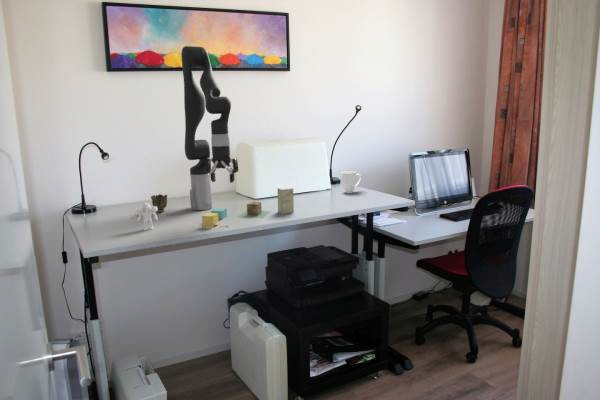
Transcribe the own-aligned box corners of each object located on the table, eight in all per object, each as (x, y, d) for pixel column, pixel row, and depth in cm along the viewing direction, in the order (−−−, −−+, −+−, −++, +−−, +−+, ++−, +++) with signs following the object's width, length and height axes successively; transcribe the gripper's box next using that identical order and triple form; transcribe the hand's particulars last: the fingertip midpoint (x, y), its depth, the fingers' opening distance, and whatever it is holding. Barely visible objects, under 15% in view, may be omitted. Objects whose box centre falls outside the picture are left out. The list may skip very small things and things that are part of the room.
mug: (346, 194, 254) (346, 173, 252) (338, 192, 262) (338, 171, 259) (365, 192, 259) (365, 171, 257) (357, 189, 266) (357, 169, 264)
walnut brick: (247, 215, 211) (246, 204, 209) (251, 212, 215) (250, 201, 214) (257, 215, 209) (257, 204, 208) (261, 212, 214) (261, 202, 213)
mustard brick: (202, 227, 197) (201, 215, 196) (208, 224, 202) (207, 212, 201) (213, 228, 196) (213, 216, 195) (218, 224, 201) (218, 213, 199)
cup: (171, 210, 227) (170, 194, 226) (161, 214, 221) (159, 197, 219) (159, 209, 230) (158, 193, 229) (149, 213, 224) (147, 196, 222)
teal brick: (212, 221, 206) (211, 210, 205) (216, 218, 210) (216, 208, 209) (222, 222, 204) (221, 211, 203) (227, 219, 209) (226, 208, 208)
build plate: (237, 219, 208) (236, 216, 208) (246, 212, 220) (246, 210, 219) (262, 220, 205) (262, 217, 205) (271, 213, 217) (271, 211, 216)
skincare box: (281, 216, 212) (281, 189, 209) (277, 214, 215) (276, 188, 213) (294, 214, 214) (293, 188, 212) (290, 212, 218) (289, 186, 216)
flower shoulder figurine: (159, 226, 200) (156, 198, 197) (160, 228, 196) (157, 200, 194) (136, 229, 196) (133, 201, 194) (137, 231, 193) (134, 202, 190)
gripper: (201, 145, 200) (203, 183, 203) (232, 145, 196) (234, 184, 199) (209, 143, 207) (211, 180, 210) (239, 143, 203) (241, 181, 206)
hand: (222, 182), depth 205 cm, fingers open, 8 cm apart
